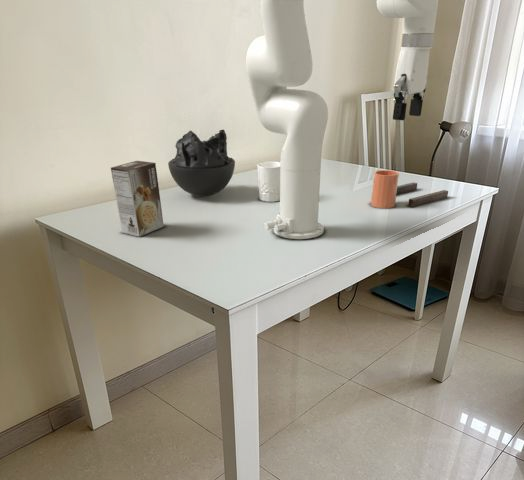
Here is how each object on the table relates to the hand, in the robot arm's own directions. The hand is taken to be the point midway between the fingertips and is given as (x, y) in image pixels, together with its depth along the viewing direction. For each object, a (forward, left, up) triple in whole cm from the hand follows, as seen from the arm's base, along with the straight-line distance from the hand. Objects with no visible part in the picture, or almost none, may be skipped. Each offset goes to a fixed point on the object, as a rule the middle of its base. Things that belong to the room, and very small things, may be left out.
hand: (406, 117), depth 132 cm
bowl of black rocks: (-40, +42, -23) cm, 63 cm away
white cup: (-26, +26, -23) cm, 44 cm away
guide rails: (+9, +1, -23) cm, 25 cm away
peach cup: (-4, +1, -23) cm, 23 cm away
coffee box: (-69, +23, -23) cm, 76 cm away
